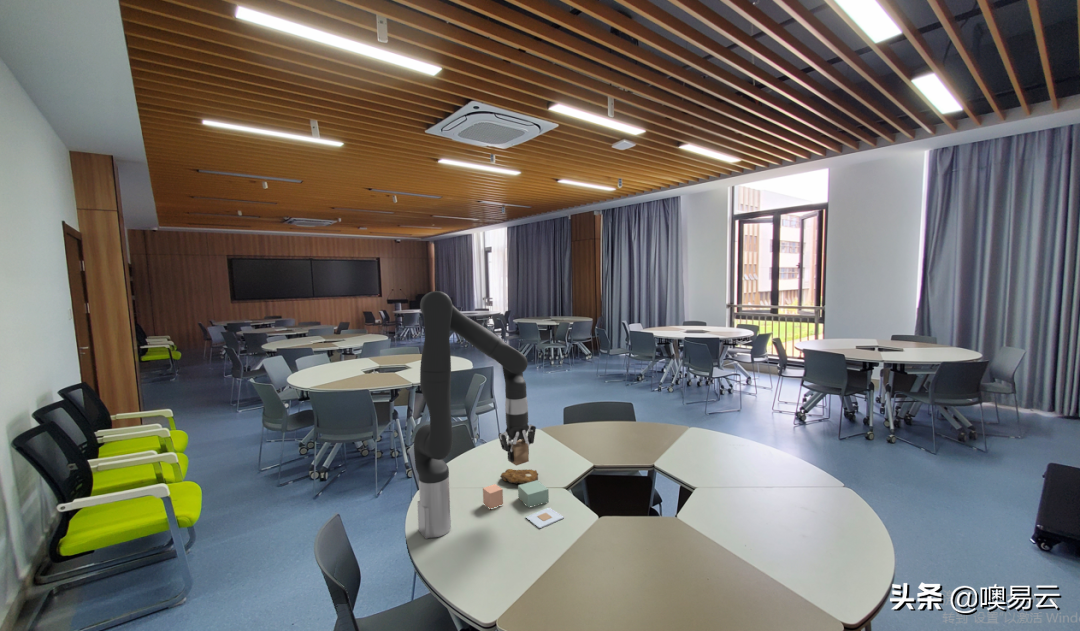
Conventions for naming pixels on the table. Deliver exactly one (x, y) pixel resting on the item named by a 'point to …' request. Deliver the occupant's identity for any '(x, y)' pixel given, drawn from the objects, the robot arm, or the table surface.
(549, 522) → the card
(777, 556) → the table surface
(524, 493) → the base block
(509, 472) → the decorative rock
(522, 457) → the walnut block
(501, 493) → the terracotta block
